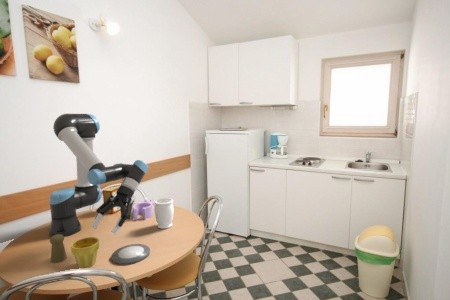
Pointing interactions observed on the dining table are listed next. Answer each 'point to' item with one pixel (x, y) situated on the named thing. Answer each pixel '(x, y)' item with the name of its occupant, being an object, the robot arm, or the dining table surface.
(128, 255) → the base
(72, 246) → the plant pot
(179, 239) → the dining table surface
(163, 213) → the jar
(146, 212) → the clip
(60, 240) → the cork
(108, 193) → the baking soda box
